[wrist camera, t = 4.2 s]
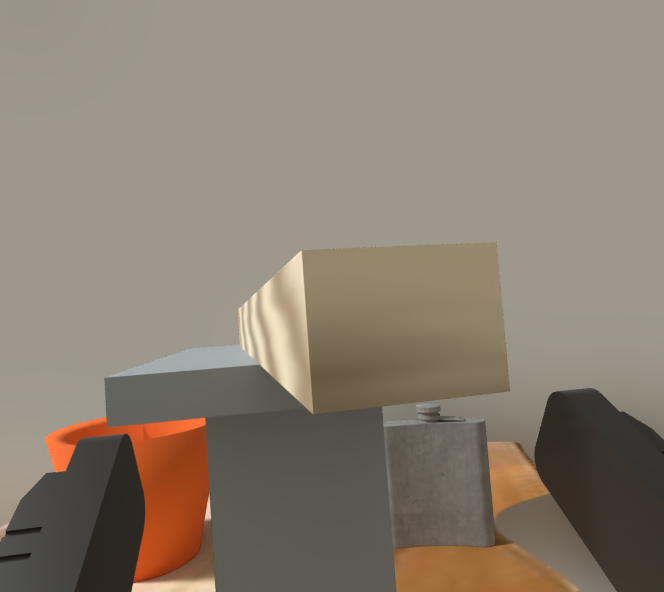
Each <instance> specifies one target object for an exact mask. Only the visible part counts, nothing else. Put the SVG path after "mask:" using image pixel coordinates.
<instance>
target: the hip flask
mask: <svg viewBox="0 0 664 592" xmlns="http://www.w3.org/2000/svg"><path fill="white" fill-rule="evenodd" d="M416 411H417V412H419V413H418V418H419V420H403V421H391V422H383V426H384V439H385V452H386V465H387V478H388V491H389V504H390V516H391V529H392V542H393V549H397V548H406V547H419V546H476V547H491V546H494V545H495V544H496V540H495V529H494V517H493V506H492V494H491V483H490V471H489V460H488V449H487V437H486V426H485V420H484V419H482V418H463V417H455V416H440V414H439V413H438V411H440V405H439V404H435V403H425V404H418V405H416Z"/></svg>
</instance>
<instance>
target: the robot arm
mask: <svg viewBox="0 0 664 592" xmlns="http://www.w3.org/2000/svg"><path fill="white" fill-rule="evenodd" d="M535 464H536V468H537V471H538V474H539V476H540V478H541V480H542V482H543V483H544V485H545V486H546V488H547V489H548V490H549V492H550V493H551V495H552V496H553V498H554V499H555V501H556V502H557V504H558V505H559V507H560V508H561V510H562V511H563V513H564V514H565V515H566V517H567V518H568V520H569V521H570V523H571V524H572V526H573V527H574V529H575V530H576V532H577V533H578V535H579V536H580V538H581V539H582V540H583V542H584V544H585V545H586V546H587V548H588V549H589V551H590V552H591V554H592V555H593V557H594V558H595V559H596V561H597V562H598V564H599V565H600V567H601V568H602V570H603V572H604V573H605V574H606V576H607V577H608V579H609V580H610V582H611V583H612V585H613V586H614V588H615V589H616V591H617V592H664V440H663V439H662V438H661V437H660V436H659V435H658V434H657V433H656V432H655V431H654V430H653V429H652V428H650V427H648V426H647V425H645V424H643V423H641V422H640V421H638V420H637V419H635V418H633V417H632V416H630V415H628V414H627V413H625V412H619V411H618V410H617V409H616V408H615V407H614V406H613V405H612V404H611V403H610V402H609V401H608V400H607V399H606V398H605V397H604V396H603V395H602V394H601V393H599V391H597V390H595V389H592V388H587V389H576V390H567V391H557V392H553V393H552V394H551V395H550V396H549V398H548V401H547V405H546V408H545V412H544V416H543V420H542V424H541V427H540V431H539V435H538V439H537V442H536V446H535ZM144 525H145V497H144V491H143V487H142V483H141V479H140V474H139V470H138V466H137V462H136V458H135V453H134V449H133V445H132V441H131V438H130V436H129V435H128V434H117V435H107V436H97V437H87V438H82V439H80V440H79V441H78V443H77V445H76V447H75V449H74V452H73V454H72V457H71V459H70V462H69V464H68V466H67V469H66V471H62V472H53V473H46V475H44V476H43V477H42V479H40V481H39V482H38V483H37V484H36V485H35V486H34V487H33V488H32V489H31V490H30V491H29V492H28V493H27V494H26V495H25V496H24V497H23V498H22V499H21V501H20V503H19V505H18V507H17V509H16V511H15V513H14V515H13V517H12V519H11V521H10V523H9V525H8V527H7V529H6V536H5V537H2V539H1V542H0V592H131V591H132V586H133V581H134V576H135V571H136V566H137V561H138V556H139V551H140V546H141V542H142V537H143V532H144Z"/></svg>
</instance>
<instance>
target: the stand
mask: <svg viewBox="0 0 664 592" xmlns="http://www.w3.org/2000/svg"><path fill="white" fill-rule="evenodd" d="M105 396H106V415H107V428H108V427H118V426H128V425H138V424H148V423H158V422H168V421H178V420H188V419H198V418H205V424H206V441H207V457H208V473H209V490H210V506H211V522H212V539H213V555H214V572H215V588H216V592H396V581H395V568H394V555H393V542H392V529H391V516H390V504H389V491H388V478H387V465H386V452H385V439H384V426H383V414H382V406H381V407H373V408H364V409H356V410H347V411H339V412H330V413H322V414H312V413H311V412H310V411H309V410H308V409H307V408H306V407H305V406H304V405H303V404H301V403H300V402H299V401H298V400H297V399H296V398H295V397H294V396H293V395H292V394H291V393H290V392H289V391H287V390H286V389H285V388H284V387H283V386H282V385H281V384H280V383H279V382H278V381H277V380H276V379H274V378H273V377H272V376H271V375H270V374H269V373H268V372H267V371H266V370H265V369H264V368H263V367H262V366H260V365H259V364H258V363H257V362H256V361H255V360H254V359H253V358H252V357H251V356H250V355H249V354H248V353H246V352H245V351H244V350H243V349H242V348H241V347H240V345H230V346H217V347H204V348H191V349H188V350H185V351H182V352H179V353H177V354H173V355H170V356H167V357H164V358H161V359H158V360H155V361H153V362H149V363H146V364H143V365H141V366H138V367H135V368H132V369H129V370H126V371H123V372H120V373H117V374H115V375H111V376H108V377H105Z"/></svg>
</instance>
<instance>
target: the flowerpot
mask: <svg viewBox="0 0 664 592" xmlns="http://www.w3.org/2000/svg"><path fill="white" fill-rule="evenodd" d="M117 434H128V435H129V436H130V438H131V441H132V445H133V449H134V453H135V458H136V462H137V466H138V470H139V474H140V479H141V483H142V487H143V491H144V497H145V525H144V532H143V537H142V542H141V546H140V551H139V556H138V561H137V566H136V571H135V576H134V581H133V582H138V581H144V580H147V579H151V578H155V577H158V576H161V575H163V574H166V573H169V572H171V571H173V570H175V569H177V568H179V567H181V566H182V565H184V564H186V563H187V562H188V561H190V560H191V559H192V558H193V557H194V556H195V555H196V554H197V553H198V551H199V549H200V545H201V538H202V532H203V526H204V520H205V514H206V508H207V501H208V495H209V473H208V457H207V441H206V424H205V418H198V419H188V420H178V421H168V422H158V423H148V424H138V425H128V426H118V427H108V428H107V417H105V418H100V419H95V420H91V421H87V422H82V423H79V424H75V425H71V426H68V427H65V428H62V429H59V430H57V431H55V432H52V433H51V434H49V435H48V436H47V437H46V438H45V441H46V444H47V447H48V450H49V454H50V457H51V460H52V463H53V466H54V469H55V472H62V471H66V469H67V466H68V464H69V462H70V459H71V457H72V454H73V452H74V449H75V447H76V445H77V443H78V441H79V440H80V439H82V438H87V437H97V436H107V435H117Z"/></svg>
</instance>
